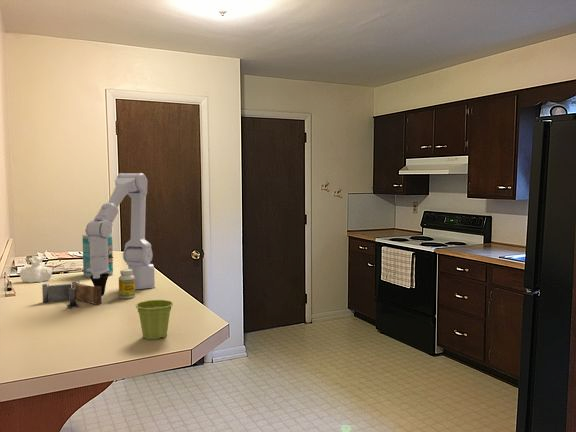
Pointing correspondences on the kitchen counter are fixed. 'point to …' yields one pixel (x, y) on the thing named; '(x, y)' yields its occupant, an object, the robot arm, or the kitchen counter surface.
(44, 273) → the bust
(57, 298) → the fence
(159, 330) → the plant pot
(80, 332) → the kitchen counter surface
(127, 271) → the supplement bottle
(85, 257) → the food can
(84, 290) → the brown wooden block
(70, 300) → the latch post
